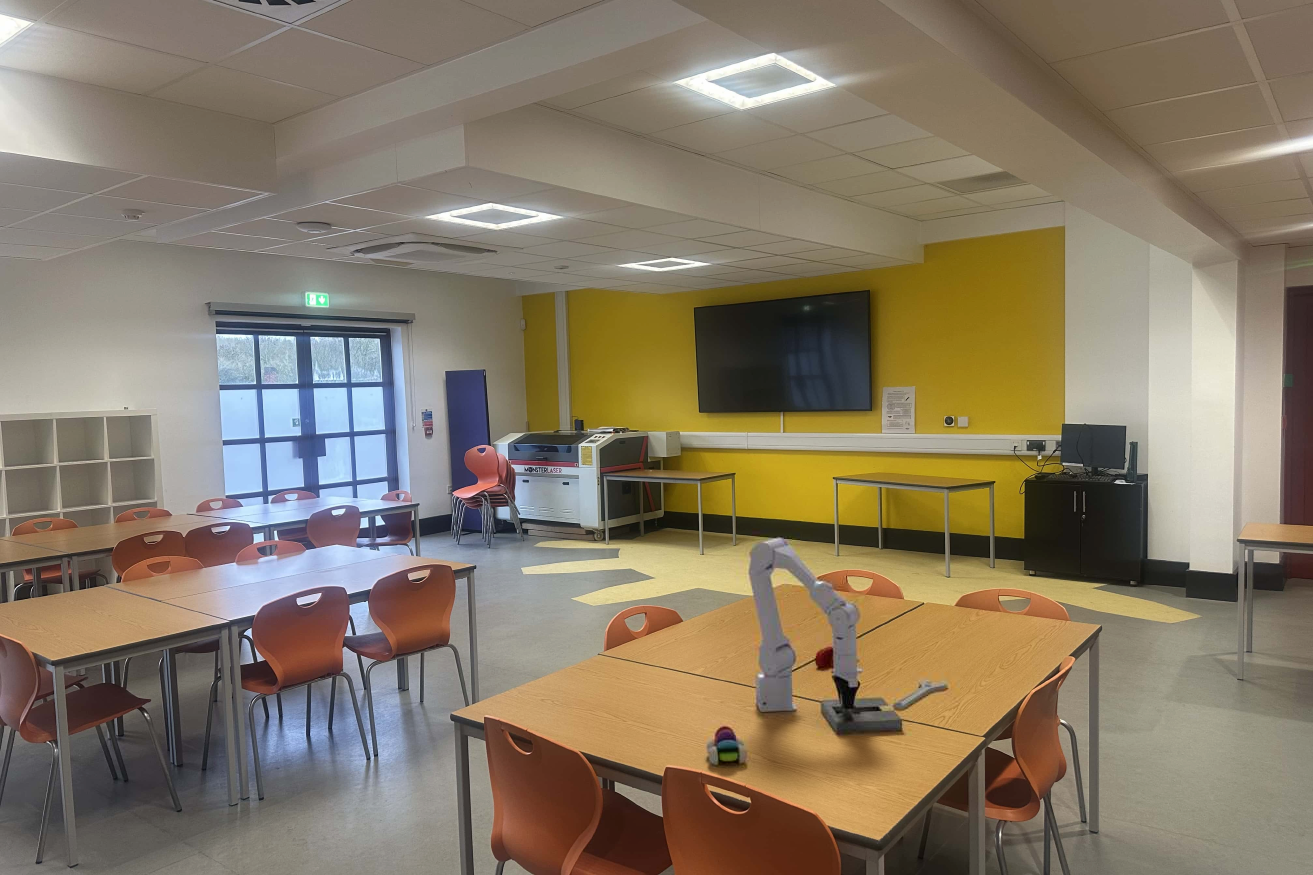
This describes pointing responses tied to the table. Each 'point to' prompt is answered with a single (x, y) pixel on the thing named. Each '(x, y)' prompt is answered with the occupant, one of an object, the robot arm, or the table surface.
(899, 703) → the adjustable wrench
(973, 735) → the table surface
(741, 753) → the colorful toy go-kart
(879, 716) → the keyhole plate
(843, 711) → the steel peg
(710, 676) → the table surface
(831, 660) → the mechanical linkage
